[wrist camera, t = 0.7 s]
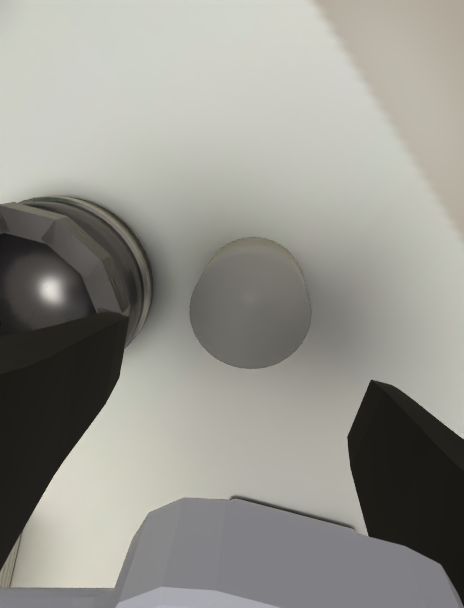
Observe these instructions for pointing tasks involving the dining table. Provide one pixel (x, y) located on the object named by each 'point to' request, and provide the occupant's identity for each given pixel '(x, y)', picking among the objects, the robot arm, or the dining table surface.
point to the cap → (251, 304)
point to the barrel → (69, 265)
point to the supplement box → (8, 567)
